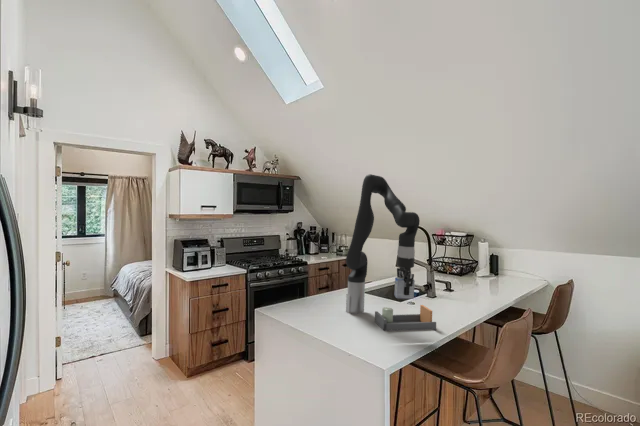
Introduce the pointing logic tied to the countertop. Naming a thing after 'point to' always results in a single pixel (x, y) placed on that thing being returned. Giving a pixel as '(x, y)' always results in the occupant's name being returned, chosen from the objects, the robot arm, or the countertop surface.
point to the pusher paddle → (425, 314)
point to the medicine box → (400, 289)
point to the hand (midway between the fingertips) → (404, 293)
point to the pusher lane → (403, 322)
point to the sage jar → (388, 314)
